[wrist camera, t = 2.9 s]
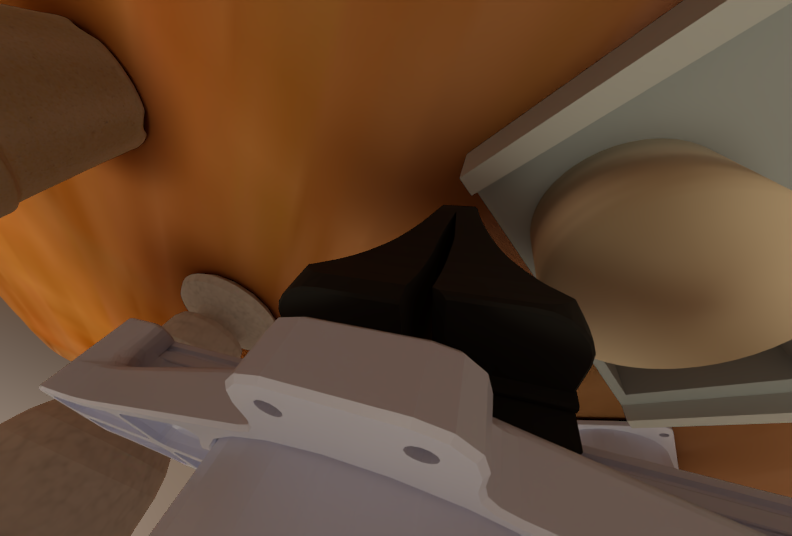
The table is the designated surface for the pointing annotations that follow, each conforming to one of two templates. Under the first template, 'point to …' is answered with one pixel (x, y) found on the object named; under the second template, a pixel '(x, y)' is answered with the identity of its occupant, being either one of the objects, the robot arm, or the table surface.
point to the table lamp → (110, 435)
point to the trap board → (671, 119)
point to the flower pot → (58, 104)
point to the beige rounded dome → (669, 254)
